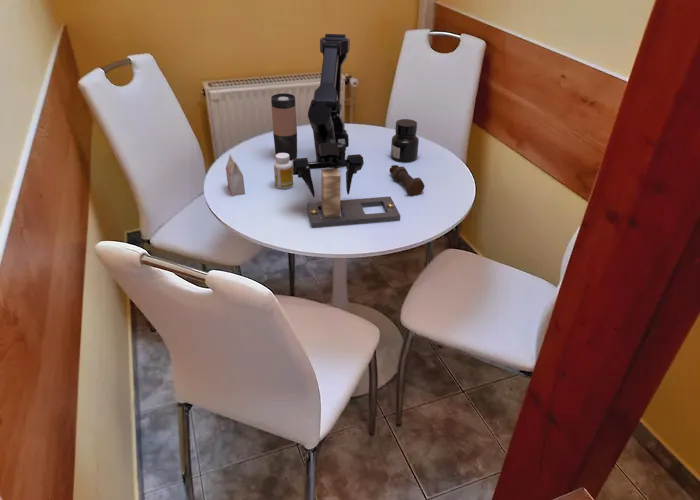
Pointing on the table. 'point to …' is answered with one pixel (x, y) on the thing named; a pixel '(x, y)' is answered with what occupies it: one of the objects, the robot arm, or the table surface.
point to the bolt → (407, 180)
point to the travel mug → (284, 124)
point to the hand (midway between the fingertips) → (331, 195)
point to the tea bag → (234, 178)
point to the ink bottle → (405, 141)
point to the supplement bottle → (283, 171)
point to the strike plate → (354, 212)
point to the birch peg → (330, 192)
